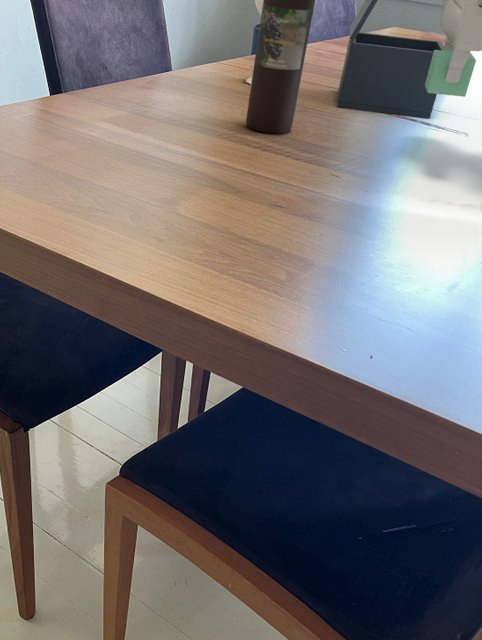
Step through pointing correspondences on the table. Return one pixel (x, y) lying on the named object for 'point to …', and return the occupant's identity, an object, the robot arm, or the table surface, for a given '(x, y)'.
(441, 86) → the mint toy cube
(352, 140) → the table surface
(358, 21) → the lid
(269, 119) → the wine bottle
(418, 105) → the cool box
